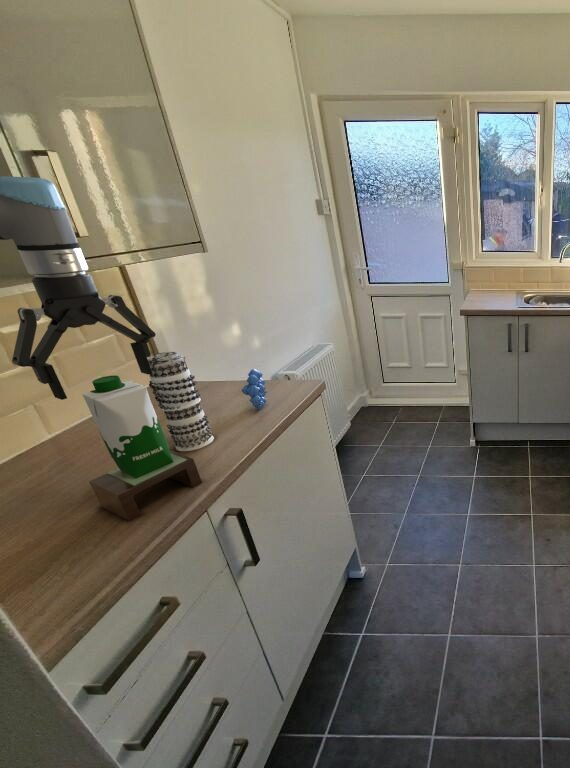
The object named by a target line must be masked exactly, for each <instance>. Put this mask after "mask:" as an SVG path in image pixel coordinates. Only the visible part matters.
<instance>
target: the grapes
mask: <svg viewBox="0 0 570 768" xmlns="http://www.w3.org/2000/svg"><path fill="white" fill-rule="evenodd" d="M247 376H248V377H247V379H246V383H247V384H245V385H244V386H243V387H242V389H241V392H242V393H243V394H244V395H245V396H249V397H250V399H249V402H250V403H251V404H252V406H253V407H254V408H255V409H256V410H262V409H263V407H264V406H265V404H266V403H267V402H268V401H267V400H268V399H266V398H265V396H266V394H267V393H268V390H266V386H264V385H265V384H266V381H265V380H264V379H263V378H262V377H263V373H262V372H261V371H260V370H257V369H255V368H252V369H250V371H249V372H248V373H247Z"/></svg>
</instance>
